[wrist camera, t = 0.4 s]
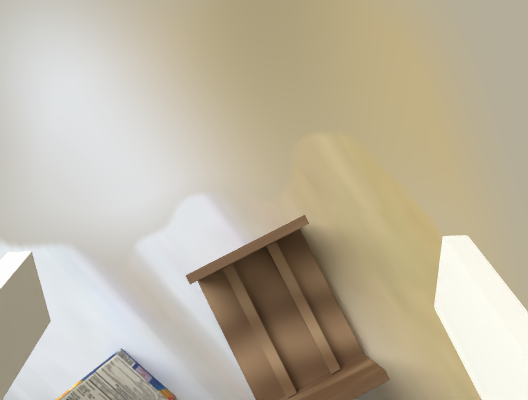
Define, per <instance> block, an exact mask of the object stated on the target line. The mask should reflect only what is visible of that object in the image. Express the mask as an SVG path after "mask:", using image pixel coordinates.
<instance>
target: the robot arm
mask: <svg viewBox="0 0 528 400" xmlns="http://www.w3.org/2000/svg"><path fill="white" fill-rule="evenodd" d="M434 308H435V310H436V312H437V314H438V316H439V318H440V320H441V322H442V324H443V326H444V328H445V330H446V331H447V333H448V335H449V337H450V339H451V341H452V343H453V345H454V347H455V349H456V351H457V353H458V355H459V357H460V359H461V361H462V363H463V364H464V366H465V368H466V370H467V372H468V374H469V376H470V378H471V380H472V382H473V384H474V386H475V388H476V390H477V392H478V394H479V396H480V397H481V399H482V400H528V312H527V311H526V309H525V308H524V307H523V306H522V304H521V303H520V302H519V300H518V299H517V298H516V297H515V295H514V294H513V293H512V292H511V290H510V289H509V288H508V286H507V285H506V284H505V283H504V281H503V280H502V279H501V278H500V276H499V275H498V274H497V272H496V271H495V270H494V269H493V267H492V266H491V265H490V263H489V262H488V261H487V260H486V258H485V257H484V256H483V255H482V253H481V252H480V251H479V250H478V248H477V247H476V246H475V244H474V243H473V242H472V241H471V239H470V238H469V237H468V236H467V235H461V236H443V240H442V248H441V256H440V264H439V272H438V281H437V289H436V297H435V305H434ZM49 323H50V317H49V313H48V310H47V306H46V302H45V299H44V295H43V291H42V288H41V284H40V280H39V277H38V273H37V269H36V266H35V262H34V258H33V255H32V252H8V253H7V254H6V255H5V256H4V257H3V258H2V259H1V261H0V400H2V399H3V398H4V396H5V394H6V393H7V391H8V390H9V388H10V386H11V385H12V383H13V381H14V380H15V378H16V376H17V375H18V373H19V372H20V370H21V368H22V367H23V365H24V363H25V362H26V360H27V359H28V357H29V355H30V354H31V352H32V350H33V349H34V347H35V346H36V344H37V342H38V341H39V339H40V337H41V336H42V334H43V333H44V331H45V329H46V328H47V326H48V324H49Z"/></svg>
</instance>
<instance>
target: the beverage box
mask: <svg viewBox="0 0 528 400" xmlns="http://www.w3.org/2000/svg"><path fill="white" fill-rule="evenodd" d="M174 398H175V395H173V394H172V393H171V392H170V391H169V390H168V389H167V388H166V387H164V386H163V385H162V384H161V383H160V382H159V381H158V380H157V379H155V378H154V377H153V376H152V375H151V374H150V373H149V372H147V371H146V370H145V369H144V368H143V367H142V366H141V365H140V364H138V363H137V362H136V361H135V360H134V359H133V358H132V357H131V356H129V355H128V354H127V353H126V352H125V351H124V350H123V349H122V348H121V349H120V350H119V351H118V352H116V353H115V354H114V355H112V356H111V357H110V358H109V359H107V360H106V361H105V362H103V363H102V364H101V365H100V366H98V367H97V368H96V369H94V370H93V371H92V372H91V373H89V374H88V375H87V376H86V377H84V378H83V379H82V380H80V381H79V382H78V383H77V384H75V385H74V386H73V387H71V388H70V389H69V390H68V391H66V392H65V393H64V394H62V395H61V396H60V397H59V398H57V399H56V400H174Z"/></svg>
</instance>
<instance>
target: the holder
mask: <svg viewBox="0 0 528 400" xmlns="http://www.w3.org/2000/svg"><path fill="white" fill-rule="evenodd" d="M307 224H309V222H308V220H307V218H306V216H305V215H304V216H302V217H300V218H298V219H296V220H294V221H292V222H290V223H288V224H286V225H284V226H282V227H280V228H278V229H276V230H274V231H272V232H270V233H268V234H266V235H264V236H262V237H260V238H258V239H257V240H255V241H253V242H251V243H249V244H247V245H245V246H243V247H241V248H239V249H237V250H235V251H233V252H231V253H229V254H227V255H225V256H223V257H221V258H219V259H217V260H215V261H213V262H211V263H209V264H207V265H205V266H204V267H202V268H200V269H198V270H196V271H194V272H192V273H190V274H188V275H186V277H187V279H188V281H189V283H190V284H192V283H194V282H196V281H198V283H199V285H200V287H201V289H202V291H203V293H204V295H205V297H206V299H207V301H208V303H209V305H210V307H211V309H212V311H213V313H214V315H215V317H216V319H217V321H218V323H219V325H220V327H221V329H222V332H223V334H224V336H225V338H226V340H227V342H228V344H229V346H230V348H231V350H232V352H233V354H234V356H235V358H236V360H237V362H238V364H239V366H240V368H241V370H242V372H243V374H244V376H245V378H246V380H247V382H248V384H249V386H250V388H251V390H252V392H253V395H254V397H255V399H256V400H353V399H355V398H357V397H359V396H360V395H362V394H364V393H366V392H368V391H369V390H371V389H373V388H375V387H377V386H378V385H380V384H382V383H384V382H386V381H387V380H389V377H388V375H387V373H386V371H385V370H384V369H383V368H382V367H380V366H379V365H378V364H376V363H375V362H374V361H373V360H371V359H370V358H369V357H367V356H366V355H365V354H364V353H363V352H362V350H361V348H360V346H359V344H358V342H357V340H356V338H355V336H354V334H353V332H352V330H351V328H350V326H349V324H348V322H347V320H346V318H345V317H344V315H343V313H342V311H341V309H340V307H339V305H338V303H337V301H336V299H335V297H334V295H333V293H332V291H331V289H330V287H329V285H328V284H327V282H326V280H325V278H324V276H323V274H322V272H321V270H320V268H319V266H318V264H317V262H316V260H315V258H314V256H313V254H312V252H311V251H310V249H309V247H308V245H307V243H306V241H305V239H304V237H303V235H302V233H301V231H300V229H299V228H301V227H303V226H305V225H307Z"/></svg>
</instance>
